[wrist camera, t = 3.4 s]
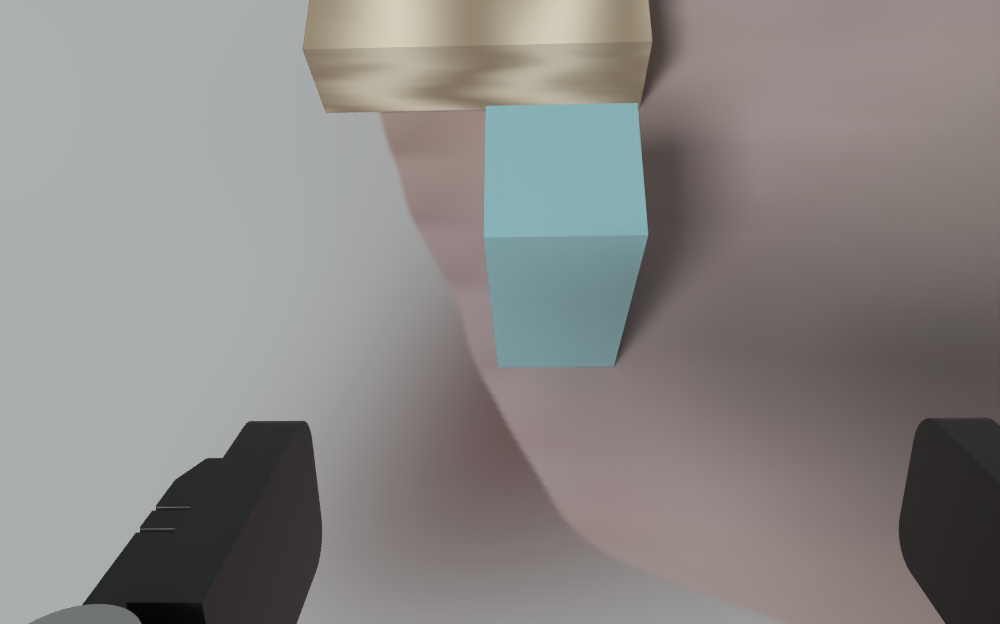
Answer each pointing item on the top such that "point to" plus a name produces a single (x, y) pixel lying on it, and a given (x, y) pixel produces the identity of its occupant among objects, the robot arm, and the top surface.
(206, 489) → the robot arm
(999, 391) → the top surface
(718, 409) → the top surface
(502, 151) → the teal block
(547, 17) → the birch plinth
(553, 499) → the top surface
